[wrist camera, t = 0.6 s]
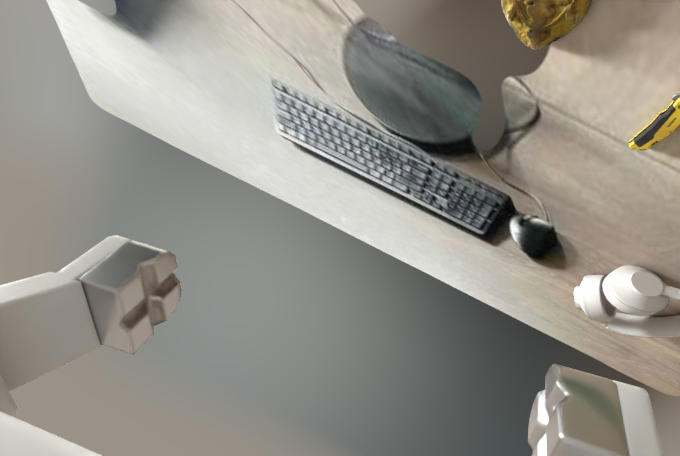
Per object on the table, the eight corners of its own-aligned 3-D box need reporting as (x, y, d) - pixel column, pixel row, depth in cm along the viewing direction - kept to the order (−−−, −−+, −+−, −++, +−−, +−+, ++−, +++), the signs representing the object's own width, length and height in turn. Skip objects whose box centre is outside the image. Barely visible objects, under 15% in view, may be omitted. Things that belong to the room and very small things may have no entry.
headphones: (554, 274, 89) (631, 315, 94) (550, 312, 85) (629, 353, 90) (648, 248, 73) (734, 299, 78) (647, 294, 69) (737, 344, 74)
